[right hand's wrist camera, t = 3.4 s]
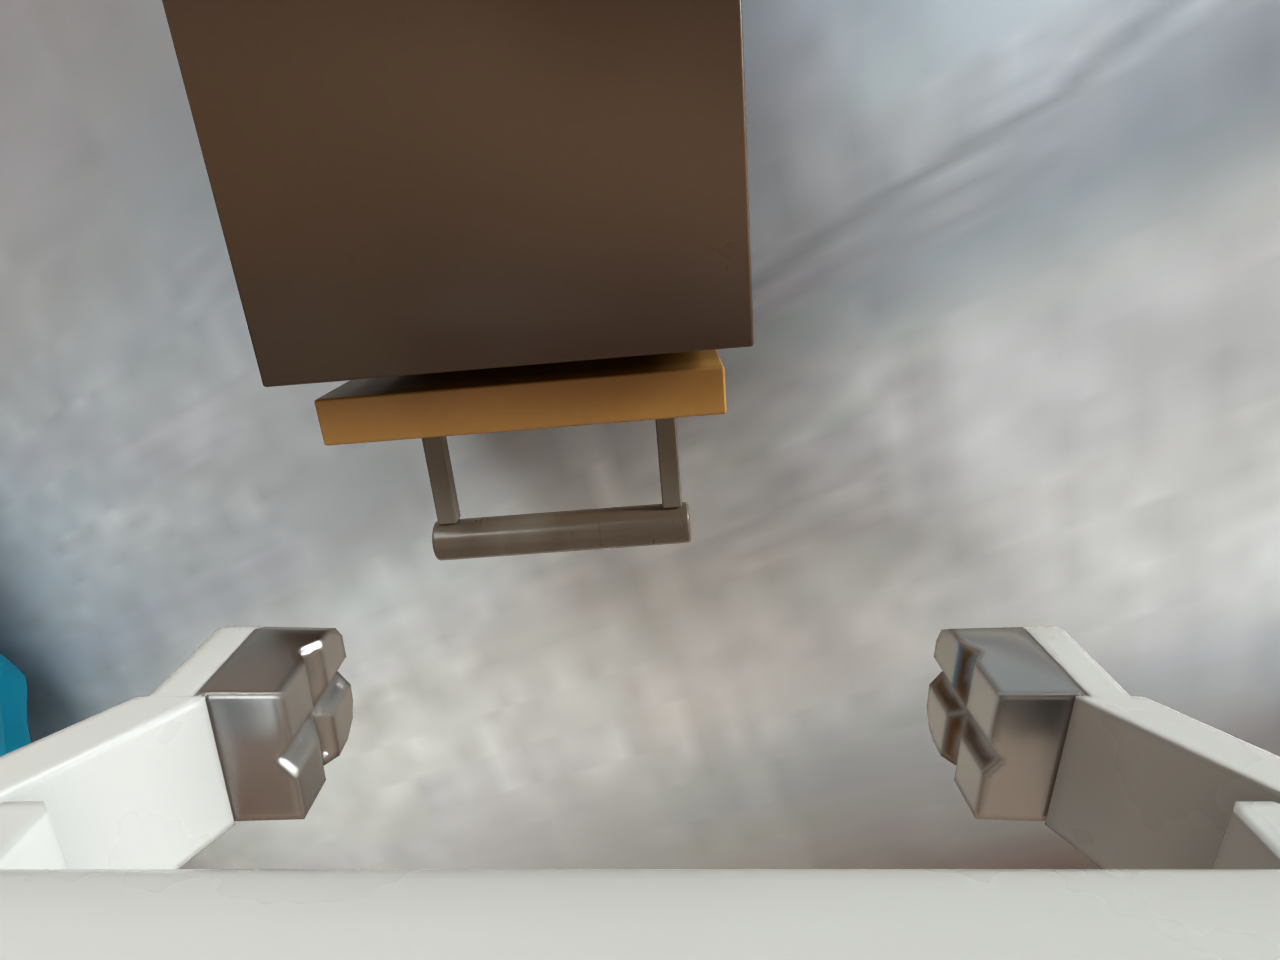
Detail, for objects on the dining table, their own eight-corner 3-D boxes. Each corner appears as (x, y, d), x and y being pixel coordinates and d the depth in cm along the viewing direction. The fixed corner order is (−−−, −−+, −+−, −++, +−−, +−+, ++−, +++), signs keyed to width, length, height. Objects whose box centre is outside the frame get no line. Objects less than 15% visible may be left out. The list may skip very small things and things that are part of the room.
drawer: (711, 483, 29) (736, 598, 20) (449, 503, 29) (366, 623, 21) (669, -244, 21) (680, -542, 13) (317, -201, 22) (104, -462, 13)
